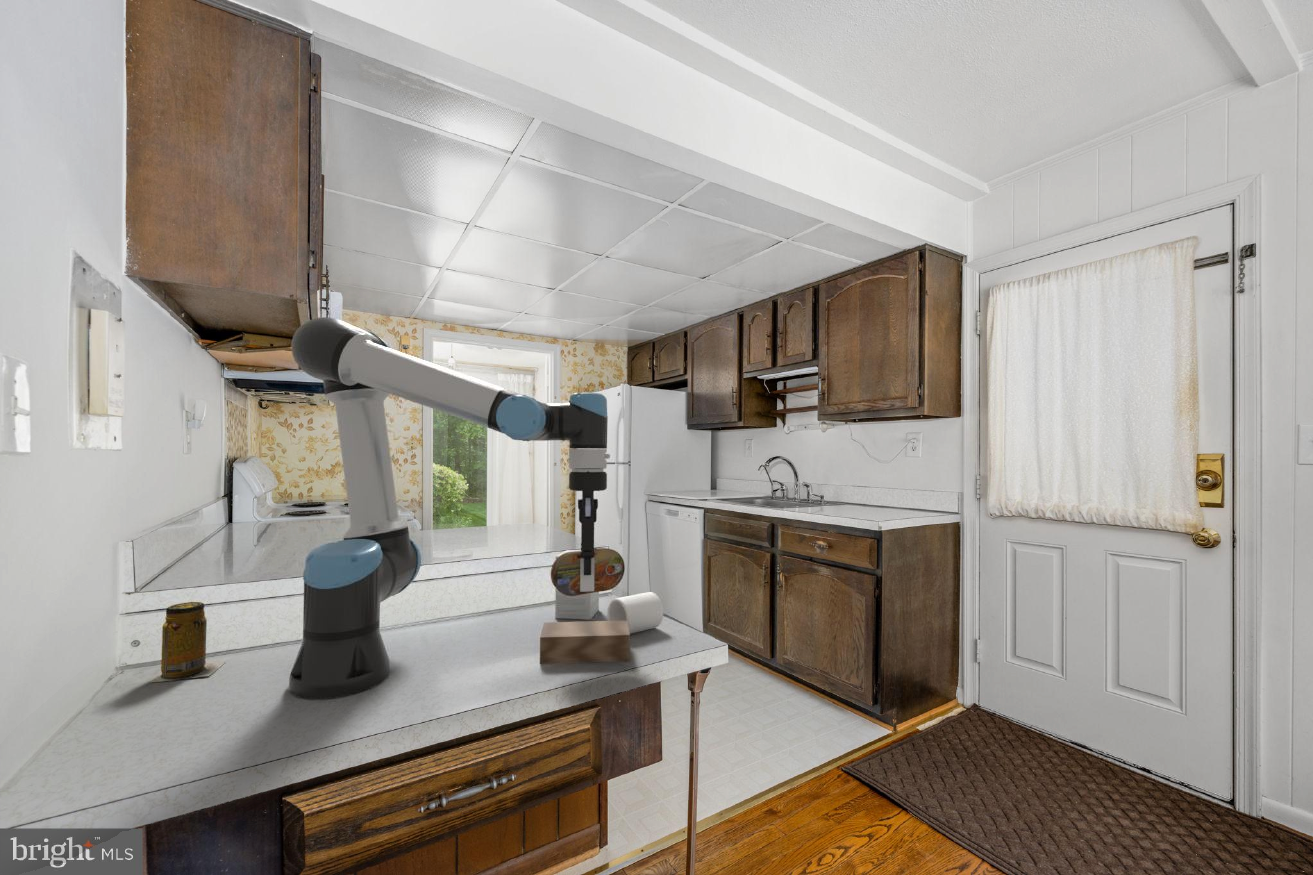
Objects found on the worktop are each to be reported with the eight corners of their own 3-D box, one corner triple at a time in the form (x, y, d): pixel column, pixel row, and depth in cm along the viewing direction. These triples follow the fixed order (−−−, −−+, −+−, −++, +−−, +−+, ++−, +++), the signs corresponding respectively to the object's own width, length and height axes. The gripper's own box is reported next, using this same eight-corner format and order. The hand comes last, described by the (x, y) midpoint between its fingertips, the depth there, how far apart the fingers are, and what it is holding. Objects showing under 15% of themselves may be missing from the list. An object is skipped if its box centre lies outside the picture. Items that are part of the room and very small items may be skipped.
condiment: (170, 667, 101) (172, 601, 102) (225, 662, 104) (227, 597, 104) (148, 683, 94) (150, 612, 95) (208, 677, 97) (210, 608, 97)
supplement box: (599, 609, 141) (600, 550, 141) (590, 620, 132) (591, 557, 133) (565, 607, 142) (566, 549, 143) (553, 618, 134) (555, 555, 134)
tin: (553, 599, 106) (554, 555, 106) (548, 594, 109) (549, 551, 109) (625, 588, 114) (625, 547, 113) (618, 584, 116) (619, 544, 116)
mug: (663, 631, 125) (664, 595, 126) (628, 640, 119) (628, 603, 119) (631, 618, 135) (631, 585, 135) (596, 626, 128) (597, 591, 129)
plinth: (539, 663, 105) (540, 637, 105) (543, 647, 114) (543, 622, 114) (629, 660, 107) (629, 634, 107) (626, 644, 116) (626, 620, 116)
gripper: (608, 472, 104) (607, 598, 103) (605, 468, 120) (604, 577, 120) (567, 472, 103) (566, 600, 102) (570, 468, 120) (569, 578, 119)
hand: (587, 587), depth 111 cm, fingers closed on tin, 4 cm apart
